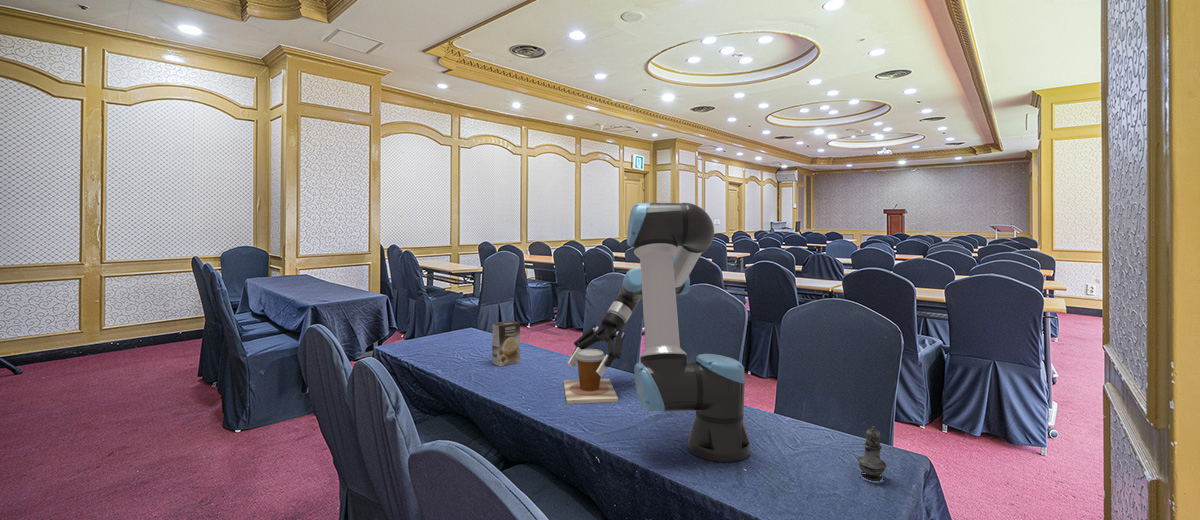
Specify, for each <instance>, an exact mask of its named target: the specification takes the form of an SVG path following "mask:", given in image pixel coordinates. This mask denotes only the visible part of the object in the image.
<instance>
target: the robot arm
mask: <svg viewBox="0 0 1200 520" xmlns="http://www.w3.org/2000/svg"><path fill="white" fill-rule="evenodd" d="M629 213H630V214H629V218H628V224H627V230H626V232H627V233H626V237H627V238H626V243H627V246H628V247H630V248H633V253H634V255H635V256H636V257H637V258H638V259H639V262H640V263H639V264H640V267H633V268H630V269H629V270H628V271H627V272H626V274H625V275H624V277H623V280H622V285H621V287H620V290H619V292H618V294H617V296H616V298H615V299H614V301H613V302H612V303H611V305H610V307H609V308H608V310H607V312H605V315H604V316H603V318H602V319H601V324H600V326H597V325H596V324H595V323H594V324H592V326H591V327H590V328H589V329H588V330H587V331H586V332H585V333H583V334H582V335H581V336H580V337H579V338H577V339H576V340H575V341H574V342H573V344H574V346H575V349H574V350H573V352H572V353H571V357H570V358H569V360H568V361H567V364H568V365H569V366H570V367H571V369H574V368H575V365H576V364H578V363H577V358H576V355H577V352H578V351H579V350H582V349H588V348H589V347H590V346H592V345H593V344H595V343H596V342H605V343H607V349H608V353H607V354H606V355H604V356H605V357H604V359H603V361H602V363H601V364H600V366H599V367H598V369H597V371H596V372H597V373H598V374H599V375H600V376H601V378H602V377H603V376H604V374H605V372H606V371H607V369H608V368H609V367H610V366H611V365H612V363H613V361H614V360H616V359H618V360H620V359H621V357H622V351H623V344H624V339H625V337H626V334H625V333H624V331H623V329H624V327H625V325H626V323H627V322H628V320H629V318H630V317H631V316H632V314H633V312H634V310H635V309H636V307H637V306H638V304H639V302H640V301H641V299H642V308H643V327H644V340H645V341H644V346H645V350H644V351H643V352H642V354H640V355H639V360H640V362H637V363H635V365H634V368H633V369H634V370H633V371H634V372H633V373H634V383H635V388H636V389H635V390H636V392H637V397H638V400H639V404H640V405H641V407H642V408H643V409H644V410H645V411H647V412H660V413H666V412H680V411H681V412H686V411H695V417H694V421H693V423H692V427H691V429H690V432H689V435H688V439H687V447H688V448H687V449H688V450H689V451H690V452H691V453H692V454H693V455H695V456H696V457H698V458H701V459H704V460H706V461H713V462H717V463H718V462H719V463H732V462H739V461H742V460H745V459H746V458H747V457H749V455H750V454H751V453H750V452H751V442H750V441H751V440H750V438H749V435H748V433H747V432H748V431H747V428H746V425H745V422H744V416H745V415H744V409H745V385H746V379H745V378H746V377H745V367H744V366H743V364H742V363H741V362H740V361H738V360H737V359H735V358H732V357H730V356H729V357H728V356H725V355H720V354H715V353H714V354H713V353H702V354H701V353H700V354H698V355H697V356H696V358H695V360H696V361H688V354H687V352H685V350H683V349H682V348H681V345H680V343H681V342H680V330H679V319H678V306H677V296H681V295H682V296H683V295H687V294H688V293H689V292H690V288H691V279H690V275H691V273H692V270H693V269H694V267H695V265H696V263H698V260H699V258H700V257H701V255H702V253H704V252H706V251H707V250H709V248H710V246H711V245H712V243H713V241H714V237H715V227H714V222H713V221H712V218H711V217H710V215H709V214H708V213H707V212H706V211H705V210H704V209H703V208H702V207H700V205H699V206H698V205H696V204H694V203H691V202H682V203H681V202H651V201H648V202H637V203H635V204H634V205H632V207H631V210H630V212H629Z"/></svg>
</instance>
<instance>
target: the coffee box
mask: <svg viewBox="0 0 1200 520" xmlns="http://www.w3.org/2000/svg"><path fill="white" fill-rule="evenodd" d="M491 330H492V339H491V340H492V343H491V344H492V348H491V349H492V352H491V353H492V355H491V356H492V358H491V361H492V365H494V366H495V365H496V366H497V367H505V366H510V365H516V364H519V362H520V363H521V322H518V321H515V320H514V321H513V320H508V321H500V322H499V321H498V322H492V329H491ZM515 363H516V364H515Z"/></svg>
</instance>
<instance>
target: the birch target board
mask: <svg viewBox="0 0 1200 520" xmlns="http://www.w3.org/2000/svg"><path fill="white" fill-rule="evenodd" d="M563 389H564V394H565V402H566V404H567V405H574V404H576V405H577V404H596V403H597V404H599V403H600V404H601V403H604V402H605V403H618V402H619V397H618V395H617V393H616V391H615V389H614V386H613V384H612V382H611V379H610V378H601V379H600V385H599V389H598V390H594V391H585V390H582V389H581V388H580V382H579V379H565V380H563Z"/></svg>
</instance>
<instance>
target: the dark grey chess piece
mask: <svg viewBox="0 0 1200 520" xmlns="http://www.w3.org/2000/svg"><path fill="white" fill-rule="evenodd" d="M865 433H866V434H865V442H864V443H863V446H864V455H862V456H859V457H858V458H857V463H858V466H859V468H860V470H861V471H860V472H861V473H860V472H859V473H860V474H861V475H862V477H864V478H866V479H868V480H871V481H880V480H881V479H882V477H883V476H882V474H883V473H884V472H885V470H886V468H887V465H888V464H887V463H886V462H885V461H884V460H882V459H881V455H880V454H881V449H882V448H883V447H882V445H881V433H880V431H878V429H876V426H875V425H872V426H871V428H869V429H867V430H866V432H865ZM862 473H866V474H862ZM880 475H881V476H880Z"/></svg>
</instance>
